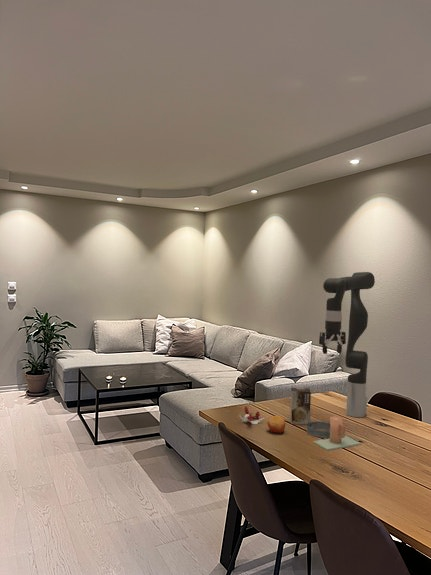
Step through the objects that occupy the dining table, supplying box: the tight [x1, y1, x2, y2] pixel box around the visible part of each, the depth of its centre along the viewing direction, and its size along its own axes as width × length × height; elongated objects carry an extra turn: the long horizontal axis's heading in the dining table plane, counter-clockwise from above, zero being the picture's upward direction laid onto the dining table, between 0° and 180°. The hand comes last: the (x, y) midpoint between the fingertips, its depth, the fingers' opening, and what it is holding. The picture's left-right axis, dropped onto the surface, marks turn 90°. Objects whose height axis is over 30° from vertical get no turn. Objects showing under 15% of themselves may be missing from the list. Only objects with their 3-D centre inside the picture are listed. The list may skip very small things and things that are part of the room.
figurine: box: [239, 405, 264, 425], centre depth 206 cm, size 15×12×7 cm
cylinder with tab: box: [329, 415, 346, 444], centre depth 183 cm, size 7×5×10 cm
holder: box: [305, 420, 330, 439], centre depth 196 cm, size 13×13×3 cm
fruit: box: [266, 415, 286, 434], centre depth 196 cm, size 8×8×8 cm
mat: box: [312, 435, 362, 451], centre depth 184 cm, size 18×9×1 cm, turn 115°
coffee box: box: [289, 387, 312, 426], centre depth 209 cm, size 9×6×16 cm
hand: (332, 353), depth 209 cm, fingers open, 8 cm apart
